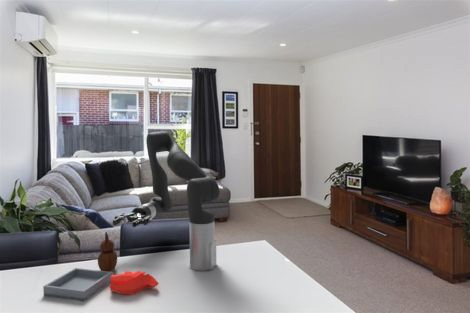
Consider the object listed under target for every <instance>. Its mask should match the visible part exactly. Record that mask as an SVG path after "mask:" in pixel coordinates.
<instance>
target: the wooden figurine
mask: <svg viewBox="0 0 470 313" xmlns="http://www.w3.org/2000/svg"><path fill="white" fill-rule="evenodd" d="M104 236H105V237H104V240H102V241H101V243H100V244H99V245H100V246H99V250H100V251H101V252H100V253H99V255H98V258H97V265H98V268H99V271H108V272H113V271H114V270H115V269H116V268H117V267H116V266H117V264H118V254H117V251H116V250H115V249H114V248H115V242H114V241H113V240H112V239H109V234H108V232H105V234H104Z"/></svg>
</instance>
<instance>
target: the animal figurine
mask: <svg viewBox="0 0 470 313" xmlns="http://www.w3.org/2000/svg"><path fill="white" fill-rule="evenodd" d="M158 285H159V282H158V281H157V279H156V278H155V277H154V276H152V275H151V274H149V273H146V271H141V270H137V271H134V272H133V271H124V273H119V274H113V275H112V276H111V282H110V283H109V288H110V291H111V292H115V293H116V294H121V295H136V294H137V293H139V292H141V291H143V290H145V289H153V288H156V287H157V286H158Z"/></svg>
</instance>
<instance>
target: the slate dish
mask: <svg viewBox="0 0 470 313" xmlns="http://www.w3.org/2000/svg"><path fill="white" fill-rule="evenodd" d="M112 275H114V273H113V271H111V272H108V271H101V270H100V269H98V270H97V269H90V268H89V269H88V268H78V267H75V268H73V269H72V270H70V271H67V272H66V273H64V274H62V275H60V276H58V277H57V278H55V279H54V280H52V281H50V282H48V283H47V284H45V285H43V288H42V289H43V290H42V291H43V296H45V297H52V298H60V299H67V300H74V301H81V302H86V301H87V300H88V299H90V298H91V297H92V296H94V295H95V294H96V293H97V292H99V291H101V290H102V289H103V288H104V287H106V286H107V285H108V284H109V285H110V283H111V276H112Z"/></svg>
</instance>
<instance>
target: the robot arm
mask: <svg viewBox="0 0 470 313" xmlns="http://www.w3.org/2000/svg"><path fill="white" fill-rule="evenodd" d="M146 148H147V155H148V160H149V166H150V169H151V170H150V171H151V177H152V178H151V179H152V180H151V181H152V192H153V193H154V194H155V195H156V196H154V197H152V198H150V200H149V202H147V203H144V204H141V205H139V206H137V207H134V209H132V211H131V212H130V213H127V214H125V212H123V213H119V214H117V215H114V219H113V220H112V226H114V227H115V226H117V225H119V224H123V223H124V224H129V223H131V224H132V228H136V227H137V226H142V225H143V226H147V225H149V224H150V223H151V222H152V221H153V220H152V219H153V218H155V217H157V216H158V215H159V214H160V213H163V214H168V213H170V212H171V210H172V208H173V201H172V197H171V196H170V195H171V194H170V191H169V185H168V184H169V183H168V174H167V173H166V171H165V169H164V168H163V166H162V165H161V163H160V162H159V161H158V157H157V153H163V152H164V153H165V152H168V154H167V159H166V163H167V167H168V168H169V170H171V171H172V173H173V174H174V175H175V176H177V177H178V178H180V179H182V180H185V181H187V186H186V201H187V213H188V220H189V221H188V223H189V267H190V268H189V269H192V270H193V271H199V272H200V271H201V272H204V271H213V270H214V268H215V267H216V265H217V239H215V213H214V212H213V211H210V210H207V209H206V210H205V209H204V208H203V204H206V203H211V202H215V201H216V200H218V198H219V196H220V192H221V191H220V186H219V185H218V182H217V181H216V180H215V178H213V177H212V176H211V175H210V174H208V173H207V172H206V171H205V170H203V169H202V168H201V167H200V166H199V165H198V164H197V163H196V162H195V161H194V160H193V158H192V157H190V156H189V154H188V153H187V152H185V151H184V150H183V149H182V148H181V147H180V145H179V144H178V142H177V141H176V140H175V139H174V137H173V135H172V134H171V133H170V132H168V131H166V130H165V131H154V132H149V133H147V136H146Z"/></svg>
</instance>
